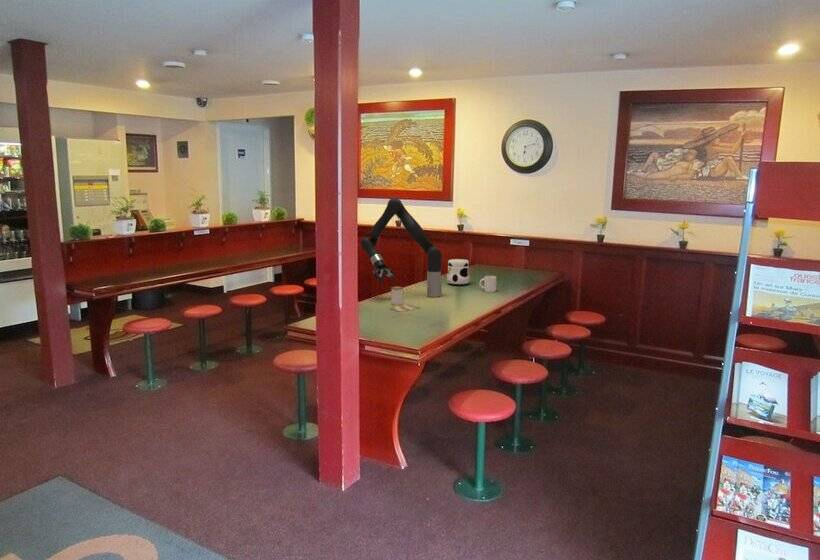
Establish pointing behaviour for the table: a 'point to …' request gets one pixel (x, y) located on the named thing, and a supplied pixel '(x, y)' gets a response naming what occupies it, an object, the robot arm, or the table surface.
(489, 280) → the mug
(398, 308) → the mat
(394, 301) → the canister
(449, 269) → the milk container
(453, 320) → the table surface
